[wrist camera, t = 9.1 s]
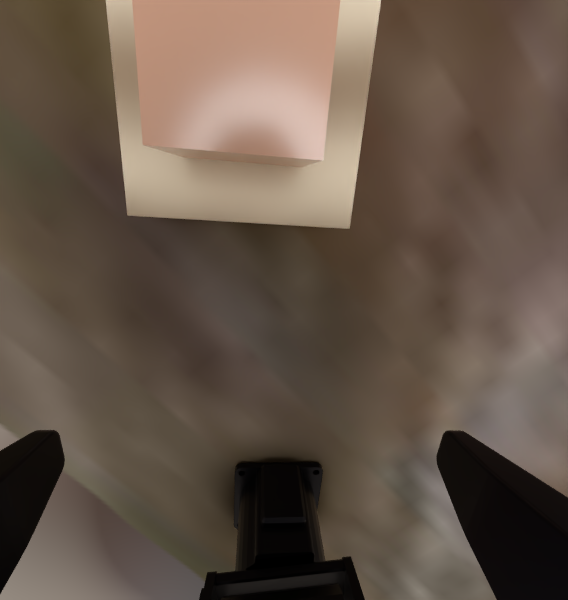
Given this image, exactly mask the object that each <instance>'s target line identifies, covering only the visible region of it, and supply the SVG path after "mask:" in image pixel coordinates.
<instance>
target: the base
mask: <svg viewBox="0 0 568 600" xmlns="http://www.w3.org/2000/svg"><path fill="white" fill-rule="evenodd" d="M380 3H381V0H340V8H339V18H338V27H337V36H336V46H335V55H334V64H333V74H332V83H331V92H330V102H329V111H328V120H327V130H326V139H325V148H324V158H323V161H320V162H317V163H314V164H311V165H308V166H305V167H291V166H279V165H267V164H255V163H243V162H231V161H219V160H207V159H196V158H184V157H180V156H177V155H174V154H171V153H167V152H164V151H161V150H157V149H154V148H151V147H147V146H144V145H143V143H142V129H141V115H140V101H139V88H138V74H137V60H136V47H135V33H134V19H133V5H132V0H106V7H107V17H108V27H109V37H110V47H111V57H112V67H113V77H114V87H115V97H116V106H117V116H118V126H119V136H120V146H121V156H122V166H123V176H124V186H125V196H126V206H127V216H144V217H161V218H177V219H194V220H210V221H227V222H244V223H260V224H277V225H294V226H310V227H327V228H343V229H350V222H351V214H352V207H353V200H354V193H355V185H356V178H357V171H358V164H359V156H360V149H361V142H362V134H363V127H364V120H365V113H366V105H367V98H368V91H369V83H370V76H371V69H372V62H373V54H374V47H375V40H376V32H377V25H378V18H379V11H380Z"/></svg>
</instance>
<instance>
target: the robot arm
mask: <svg viewBox="0 0 568 600" xmlns="http://www.w3.org/2000/svg"><path fill="white" fill-rule="evenodd" d="M64 462H65V458H64V453H63V448H62V444H61V440H60V435H59V433H58V432H57V431H55V430H37V431H34V432H32V433H30V434H28V435H27V436H25V437H23V438H21V439H20V440H18V441H16V442H15V443H13V444H11V445H9V446H8V447H6V448H4V449H2V450H1V451H0V594H1V592H2V590H3V588H4V586H5V585H6V583H7V581H8V579H9V578H10V576H11V574H12V572H13V570H14V569H15V567H16V565H17V564H18V562H19V560H20V558H21V556H22V554H23V553H24V551H25V549H26V547H27V545H28V543H29V541H30V539H31V537H32V535H33V533H34V531H35V529H36V526H37V524H38V522H39V520H40V518H41V516H42V513H43V511H44V509H45V507H46V505H47V502H48V500H49V498H50V496H51V494H52V492H53V489H54V487H55V485H56V483H57V481H58V479H59V476H60V474H61V472H62V470H63V467H64ZM437 465H438V468H439V471H440V473H441V476H442V478H443V481H444V483H445V486H446V489H447V491H448V494H449V496H450V499H451V501H452V504H453V506H454V509H455V511H456V514H457V516H458V519H459V522H460V524H461V526H462V529H463V531H464V533H465V536H466V538H467V540H468V542H469V544H470V546H471V548H472V550H473V552H474V554H475V556H476V558H477V560H478V562H479V564H480V566H481V568H482V570H483V572H484V574H485V576H486V578H487V581H488V583H489V585H490V587H491V589H492V591H493V593H494V595H495V597H496V599H497V600H568V497H566V496H565V495H563V494H561V493H560V492H558V491H557V490H555V489H554V488H552V487H550V486H549V485H547V484H546V483H544V482H543V481H541V480H539V479H538V478H536V477H535V476H533V475H532V474H530V473H528V472H527V471H525V470H524V469H522V468H521V467H519V466H517V465H516V464H514V463H513V462H511V461H510V460H508V459H506V458H505V457H503V456H502V455H500V454H499V453H497V452H495V451H494V450H492V449H491V448H489V447H488V446H486V445H484V444H483V443H481V442H480V441H478V440H477V439H475V438H473V437H472V436H470V435H469V434H467V433H466V432H464V431H446V432H445V433H444V434H443V436H442V440H441V443H440V446H439V450H438V453H437ZM322 474H323V470H322V466H321V464H319V463H242V464H238V465H237V466H236V468H235V498H234V527H235V528H236V529H238V536H237V552H236V568H235V571H232V572H224V573H217V571H215V572H208V573H207V577H206V581H205V586H204V588H202V590H201V593H200V599H199V600H365V599H364V596H363V593H362V590H361V587H360V583H359V580H358V577H357V574H356V571H355V568H354V565H353V562H352V558H351V556H349V557H342V559H339V560H331V561H325V556H324V550H323V545H322V539H321V533H320V527H319V521H318V515H317V508H318V501H319V494H320V487H321V481H322Z"/></svg>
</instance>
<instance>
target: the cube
mask: <svg viewBox="0 0 568 600" xmlns="http://www.w3.org/2000/svg"><path fill="white" fill-rule="evenodd" d="M132 5H133V19H134V33H135V47H136V60H137V74H138V88H139V101H140V115H141V129H142V143H143V145H144V146H147V147H151V148H154V149H157V150H161V151H164V152H167V153H171V154H174V155H177V156H180V157H184V158H196V159H207V160H219V161H231V162H243V163H255V164H267V165H279V166H291V167H305V166H308V165H311V164H314V163H317V162H320V161H323V158H324V148H325V139H326V130H327V120H328V111H329V102H330V92H331V83H332V74H333V64H334V55H335V46H336V36H337V27H338V18H339V8H340V0H132Z"/></svg>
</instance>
